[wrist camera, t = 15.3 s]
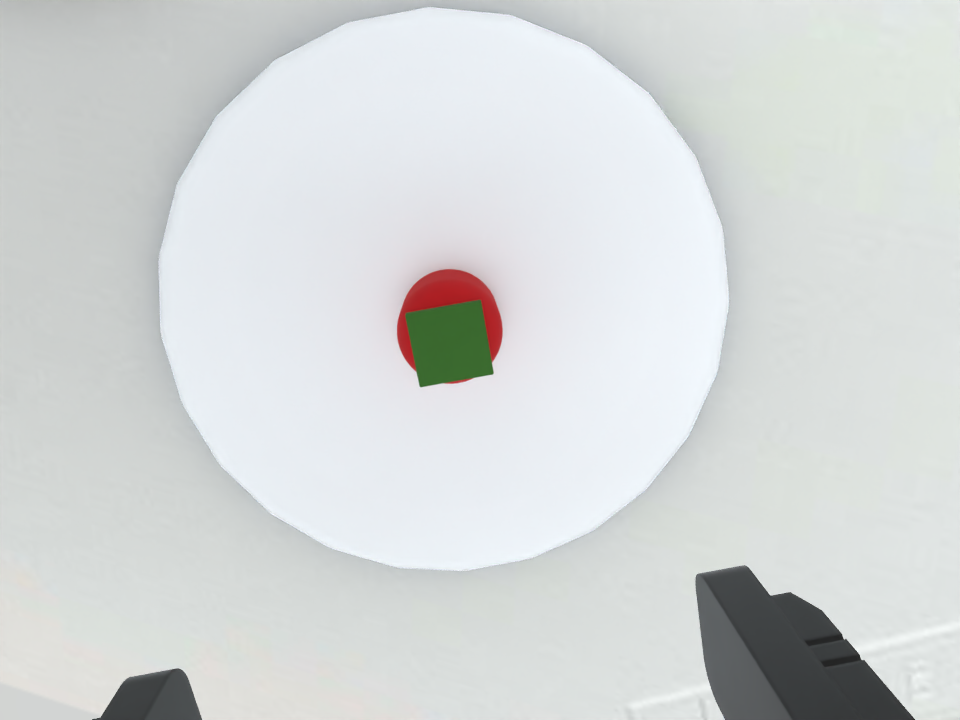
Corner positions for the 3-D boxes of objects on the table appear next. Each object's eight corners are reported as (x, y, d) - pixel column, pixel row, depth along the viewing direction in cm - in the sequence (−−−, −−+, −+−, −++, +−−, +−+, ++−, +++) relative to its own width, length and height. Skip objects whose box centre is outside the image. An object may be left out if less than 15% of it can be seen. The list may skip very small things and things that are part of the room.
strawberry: (411, 371, 32) (404, 409, 27) (392, 278, 31) (381, 299, 26) (505, 354, 32) (515, 389, 27) (489, 261, 31) (497, 278, 26)
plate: (119, 26, 29) (105, 20, 28) (732, -2, 30) (744, -9, 29) (209, 577, 35) (201, 591, 34) (712, 544, 36) (721, 556, 35)
